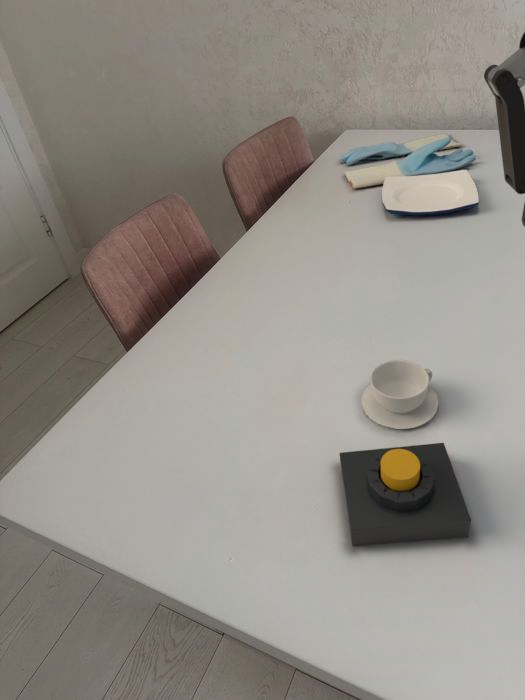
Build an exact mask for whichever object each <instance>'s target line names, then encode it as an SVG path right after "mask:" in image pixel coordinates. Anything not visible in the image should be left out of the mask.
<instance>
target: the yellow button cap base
mask: <svg viewBox="0 0 525 700" xmlns="http://www.w3.org/2000/svg"><path fill="white" fill-rule="evenodd" d="M393 449H404V450H408V451H410V452H412V453H413V454H415V455H416V456H417V458H418V459H419V462H420V478H419V482H418V484H417V485H416V486H415V487H414V488H413V489H411V490H408V491H395V490H393V489H390V488H389V487H387V486H386V485H385V484H384V482H383V481H382V478H381V459H382V457H383V455H384V454H385V453H387V452H388V451H390V450H393ZM339 462H340V471H341V479H342V486H343V493H344V499H345V500H344V501H345V507H346V514H347V521H348V528H349V536H350V542H351V546H352V547H355V546H368V545H381V544H382V545H383V544H395V543H407V542H420V541H432V540H447V539H459V538H468V537H469V534H470V530H471V529H470V527H471V523H472V519H471V516H470V513H469V510H468V507H467V505H466V504H467V503H466V501H465V499H464V496H463V493H462V490H461V487H460V484H459V482H458V479H457V477H456V474H455V470H454V468H453V465H452V462H451V459H450V456H449V454H448V450H447V448H446V445H445V443H444V442H437V443H426V444H417V445H416V444H415V445H405V446H394V447H383V448H375V449H367V450H366V449H364V450H355V451H344V452H339Z"/></svg>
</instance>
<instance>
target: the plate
mask: <svg viewBox="0 0 525 700" xmlns="http://www.w3.org/2000/svg"><path fill="white" fill-rule="evenodd" d="M381 190H382V191H381V202H382V205H383V207H384V209H385V211H386V212H387V213H388V214H392V215H393V214H394V215H407V216H432V215H433V216H434V215H440V214H448V213H455V212H459V211H463V210H467V209H473V208H474V207H476V206H477V205H479V204H480V203H479V192H478V188H477V186H476V184H475V181H474V180H473V178H472V176H471V174H470V173H469V171H468V169H461V170H452V171H448V172H442V173H438V174H430V175H419V176H398V177H385V181H384V184H382V189H381Z"/></svg>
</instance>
